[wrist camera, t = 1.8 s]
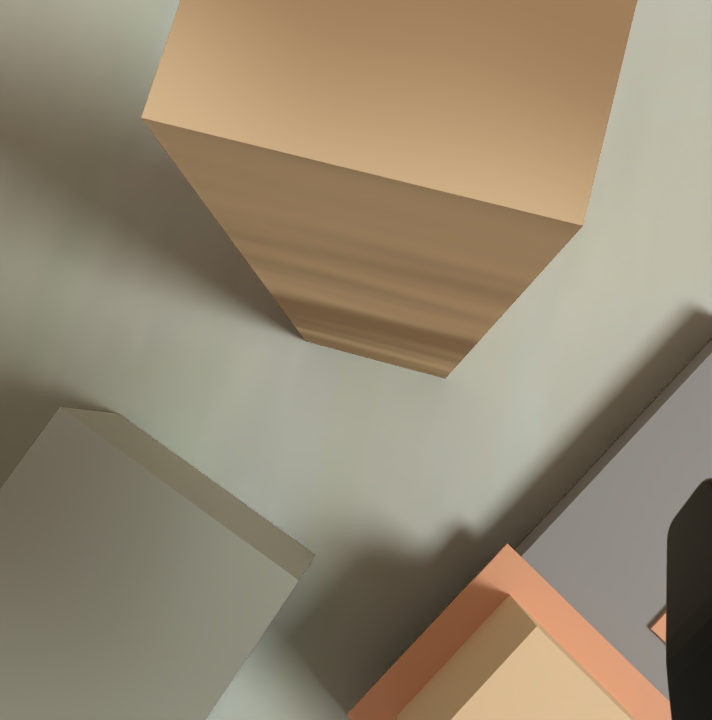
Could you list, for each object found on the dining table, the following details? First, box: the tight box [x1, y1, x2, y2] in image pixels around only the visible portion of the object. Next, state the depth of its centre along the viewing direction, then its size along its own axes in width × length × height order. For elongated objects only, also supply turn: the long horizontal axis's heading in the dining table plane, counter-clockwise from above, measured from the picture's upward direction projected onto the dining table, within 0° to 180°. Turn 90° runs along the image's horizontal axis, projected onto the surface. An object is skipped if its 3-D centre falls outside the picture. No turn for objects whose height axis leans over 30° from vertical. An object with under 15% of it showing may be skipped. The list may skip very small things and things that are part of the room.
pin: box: [141, 0, 637, 378], centre depth 13 cm, size 4×4×13 cm
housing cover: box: [0, 407, 315, 720], centre depth 16 cm, size 9×7×4 cm
